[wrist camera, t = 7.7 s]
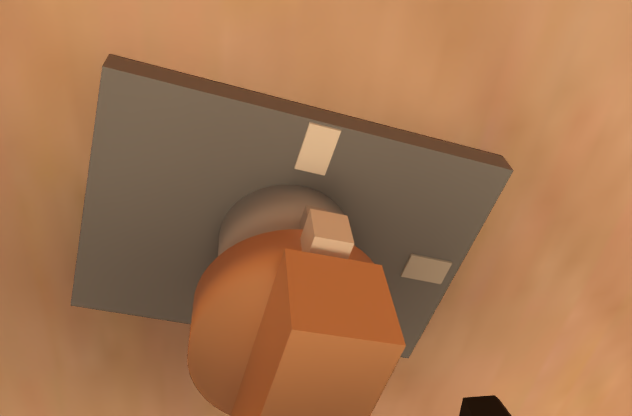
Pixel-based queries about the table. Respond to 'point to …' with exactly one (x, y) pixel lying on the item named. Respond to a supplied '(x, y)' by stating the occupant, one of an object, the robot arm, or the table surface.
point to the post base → (236, 151)
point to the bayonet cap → (294, 325)
